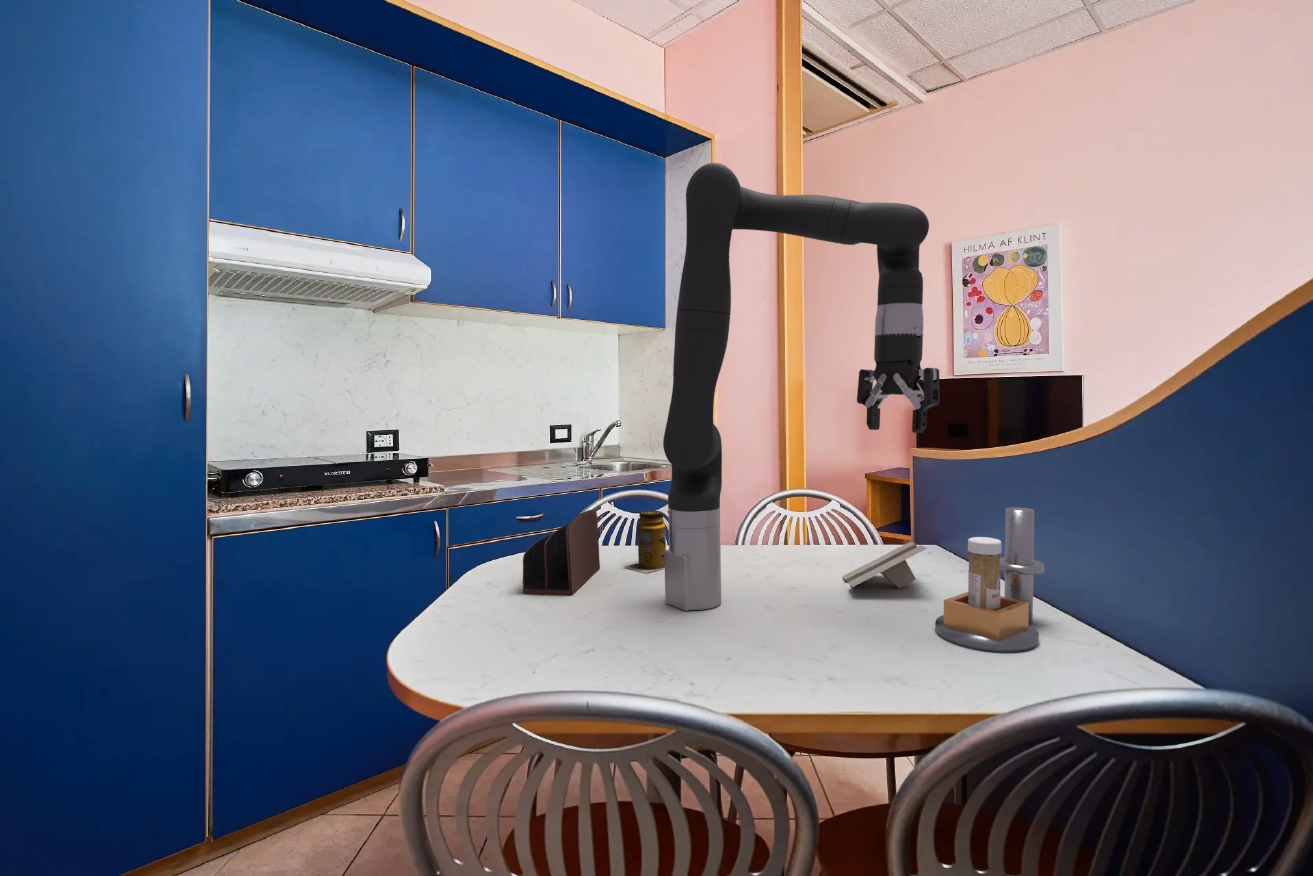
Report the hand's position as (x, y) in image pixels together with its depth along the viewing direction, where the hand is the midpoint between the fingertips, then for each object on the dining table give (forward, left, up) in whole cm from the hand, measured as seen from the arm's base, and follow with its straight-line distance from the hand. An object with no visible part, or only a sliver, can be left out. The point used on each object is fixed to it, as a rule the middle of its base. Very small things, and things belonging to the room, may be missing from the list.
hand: (895, 431), depth 111 cm
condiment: (-16, +50, -31) cm, 61 cm away
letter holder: (-35, +53, -31) cm, 71 cm away
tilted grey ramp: (+10, +10, -31) cm, 34 cm away
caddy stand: (+3, -16, -30) cm, 34 cm away
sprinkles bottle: (0, -15, -29) cm, 33 cm away
